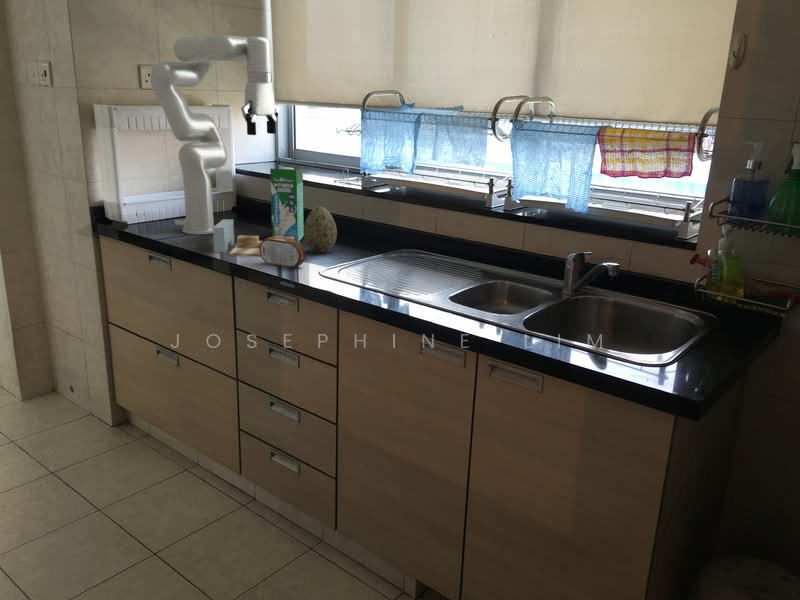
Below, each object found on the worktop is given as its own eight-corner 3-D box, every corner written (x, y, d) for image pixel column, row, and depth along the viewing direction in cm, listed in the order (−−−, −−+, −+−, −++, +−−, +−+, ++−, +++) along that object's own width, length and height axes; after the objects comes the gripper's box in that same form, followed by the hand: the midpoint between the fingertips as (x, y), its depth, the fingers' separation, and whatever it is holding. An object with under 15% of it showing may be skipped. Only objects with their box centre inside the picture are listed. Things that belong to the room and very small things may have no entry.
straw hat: (229, 255, 216) (229, 242, 215) (240, 242, 233) (240, 230, 232) (293, 256, 216) (292, 243, 215) (299, 244, 234) (299, 232, 232)
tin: (306, 267, 204) (305, 240, 202) (300, 270, 202) (299, 242, 199) (264, 261, 210) (263, 234, 208) (258, 263, 208) (257, 236, 205)
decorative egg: (307, 247, 229) (307, 203, 224) (339, 249, 228) (339, 204, 224) (300, 255, 219) (299, 208, 214) (333, 256, 218) (333, 210, 213)
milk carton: (303, 236, 245) (302, 166, 238) (297, 242, 236) (296, 169, 229) (279, 235, 246) (277, 165, 238) (272, 240, 237) (270, 168, 230)
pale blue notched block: (225, 252, 220) (224, 227, 217) (214, 252, 220) (213, 227, 217) (234, 242, 233) (233, 219, 231) (224, 242, 233) (222, 219, 230)
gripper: (268, 78, 224) (269, 132, 230) (231, 77, 210) (234, 134, 215) (286, 79, 221) (287, 133, 226) (250, 78, 207) (253, 136, 212)
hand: (261, 134), depth 221 cm, fingers open, 9 cm apart
